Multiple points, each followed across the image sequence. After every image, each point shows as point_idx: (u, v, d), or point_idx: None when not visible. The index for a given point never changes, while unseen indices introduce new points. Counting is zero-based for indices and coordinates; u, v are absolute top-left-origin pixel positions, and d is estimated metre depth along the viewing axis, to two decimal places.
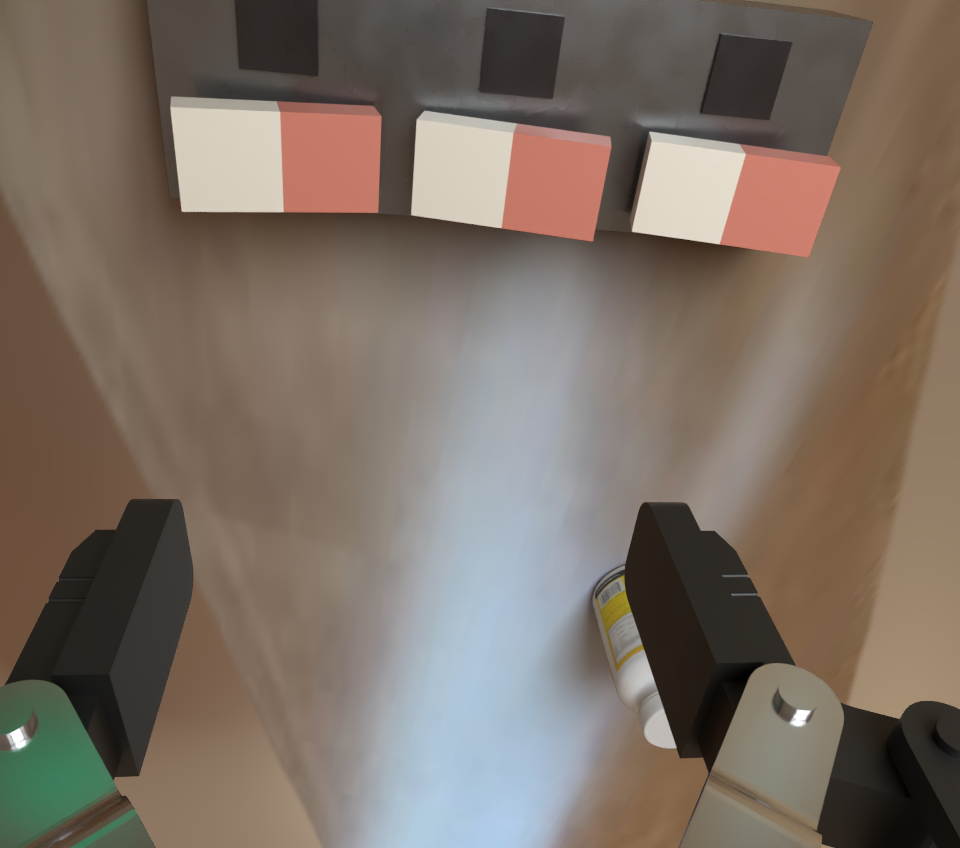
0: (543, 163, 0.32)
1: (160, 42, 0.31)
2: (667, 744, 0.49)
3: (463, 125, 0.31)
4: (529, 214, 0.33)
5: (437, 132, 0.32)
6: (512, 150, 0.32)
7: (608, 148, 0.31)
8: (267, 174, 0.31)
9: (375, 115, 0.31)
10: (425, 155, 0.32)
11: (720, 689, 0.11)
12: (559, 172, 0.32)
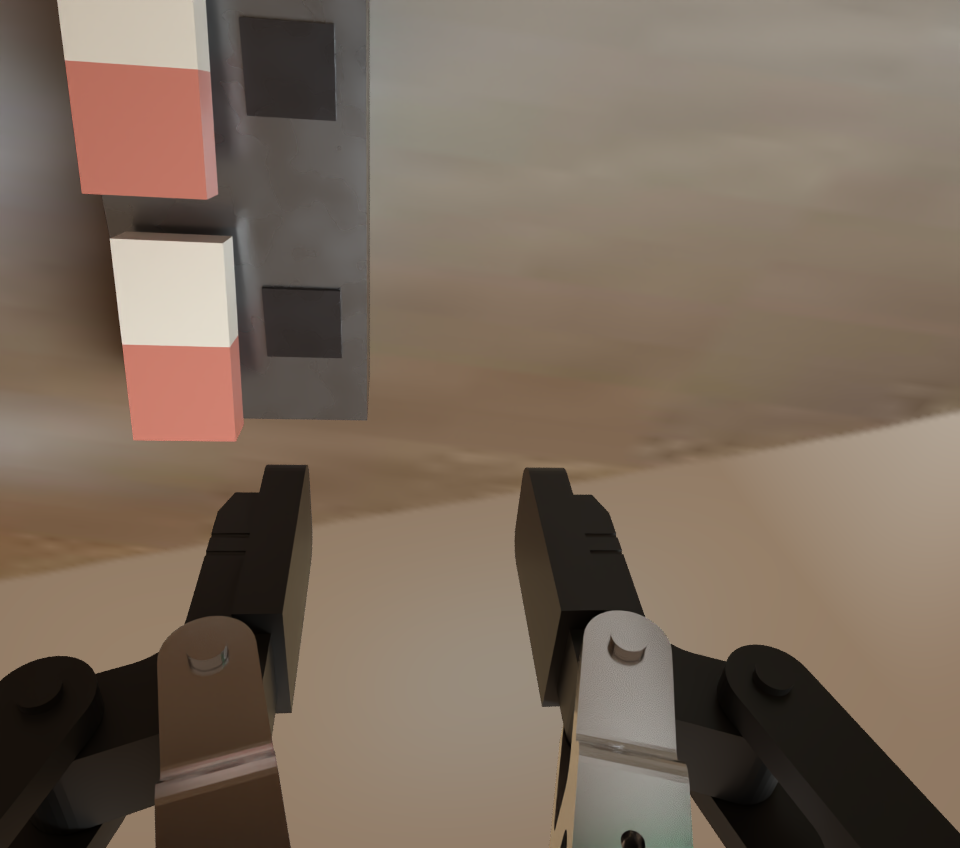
0: (167, 114, 0.25)
1: None
2: None
3: None
4: (95, 100, 0.24)
5: None
6: (175, 69, 0.24)
7: (204, 196, 0.26)
8: None
9: None
10: None
11: (569, 637, 0.11)
12: (161, 137, 0.25)
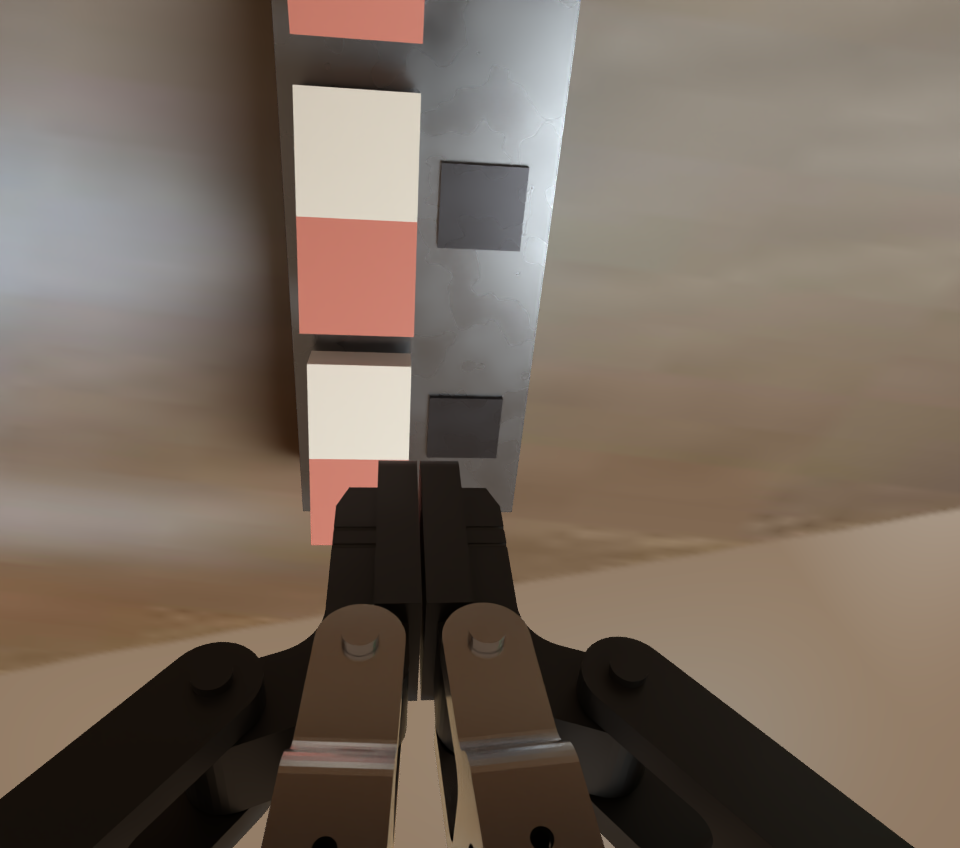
0: (385, 262, 0.26)
1: None
2: None
3: (418, 157, 0.25)
4: (320, 251, 0.26)
5: (408, 122, 0.25)
6: (396, 222, 0.26)
7: (411, 334, 0.27)
8: None
9: (422, 34, 0.24)
10: (377, 106, 0.24)
11: (438, 629, 0.11)
12: (377, 282, 0.27)
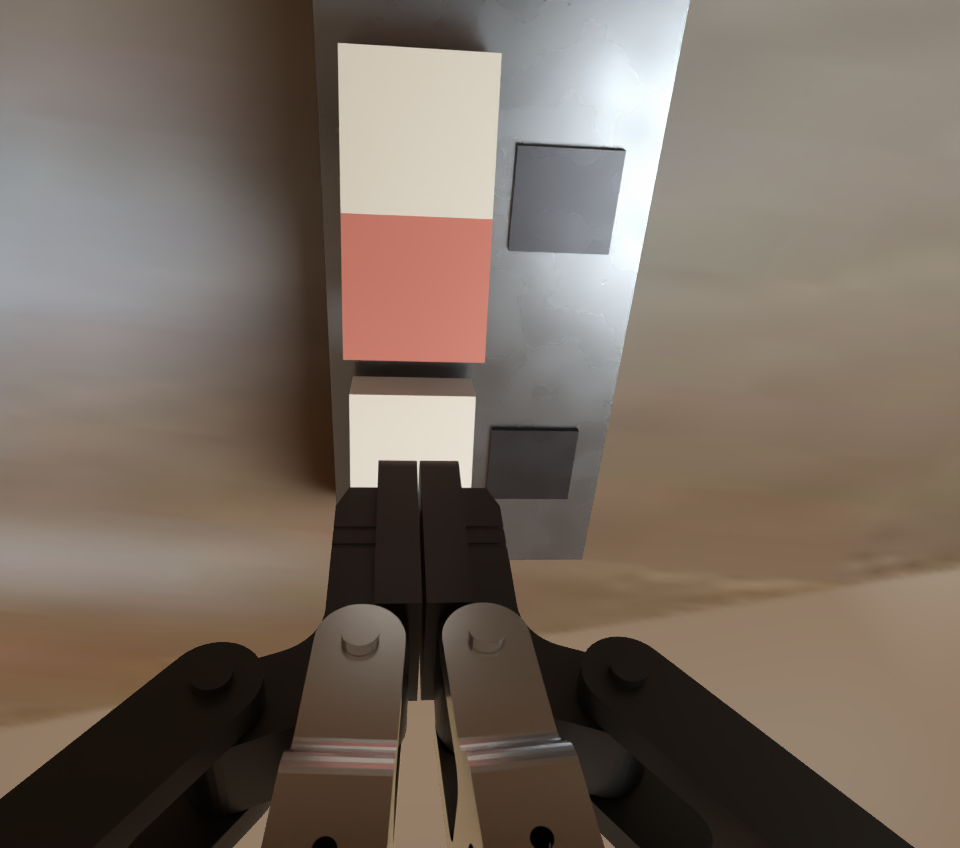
0: (452, 270, 0.21)
1: None
2: None
3: (496, 136, 0.20)
4: (370, 257, 0.21)
5: (484, 91, 0.19)
6: (466, 220, 0.20)
7: (482, 359, 0.22)
8: None
9: None
10: (445, 71, 0.19)
11: (437, 629, 0.11)
12: (441, 295, 0.21)
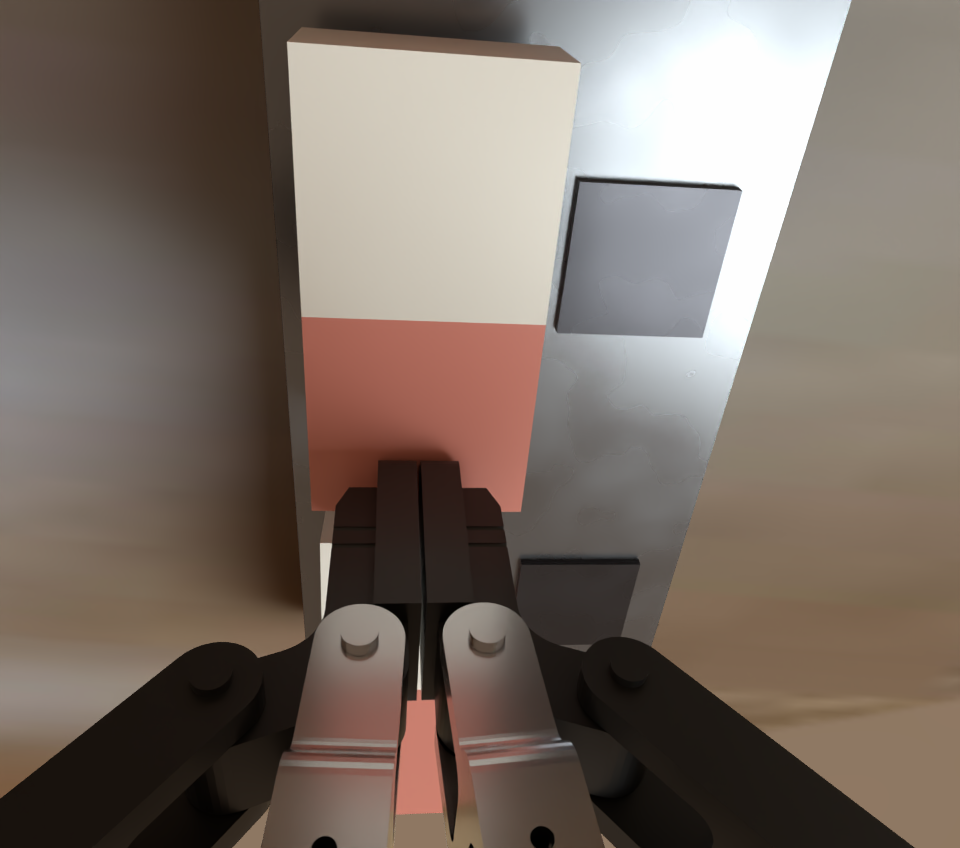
0: (478, 394, 0.13)
1: None
2: None
3: (561, 199, 0.12)
4: (351, 378, 0.13)
5: (546, 128, 0.11)
6: (504, 326, 0.13)
7: (517, 507, 0.15)
8: None
9: None
10: (480, 94, 0.11)
11: (438, 629, 0.11)
12: (460, 428, 0.14)
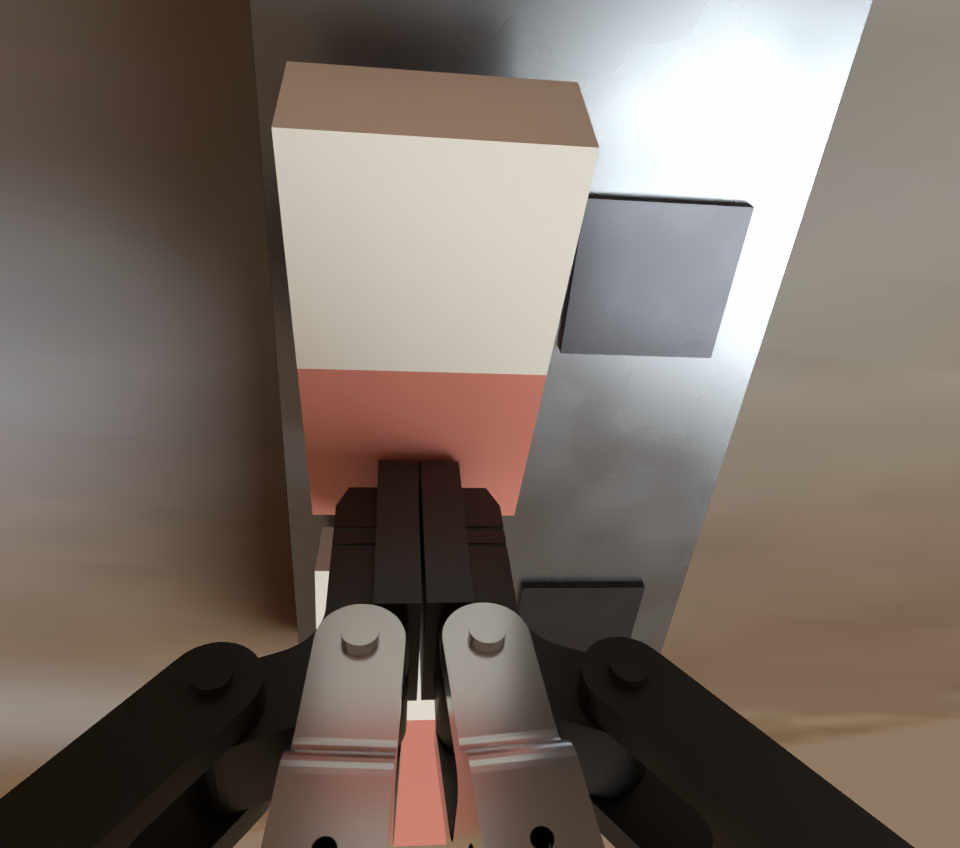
0: (475, 429, 0.13)
1: None
2: None
3: (569, 267, 0.11)
4: (349, 416, 0.13)
5: (557, 209, 0.10)
6: (504, 375, 0.13)
7: (510, 512, 0.15)
8: None
9: None
10: (486, 176, 0.10)
11: (438, 629, 0.11)
12: (458, 455, 0.14)
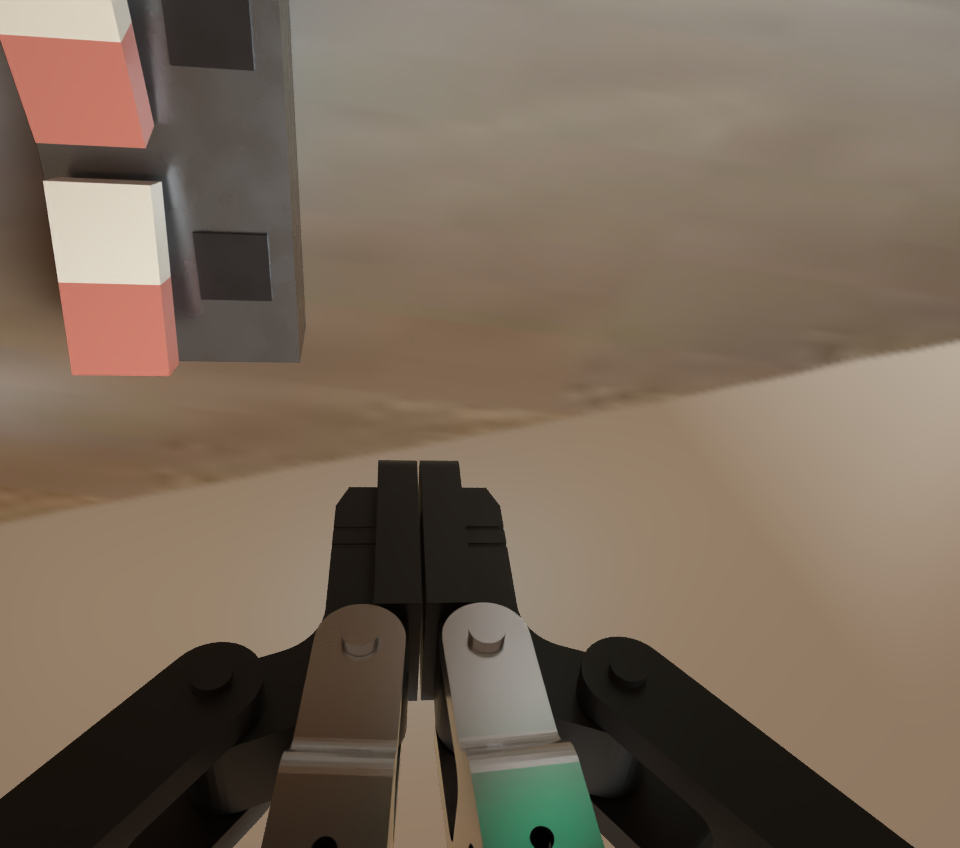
0: (100, 79, 0.28)
1: None
2: None
3: None
4: (33, 68, 0.27)
5: None
6: (100, 42, 0.27)
7: (142, 145, 0.30)
8: None
9: None
10: None
11: (437, 629, 0.11)
12: (97, 98, 0.28)
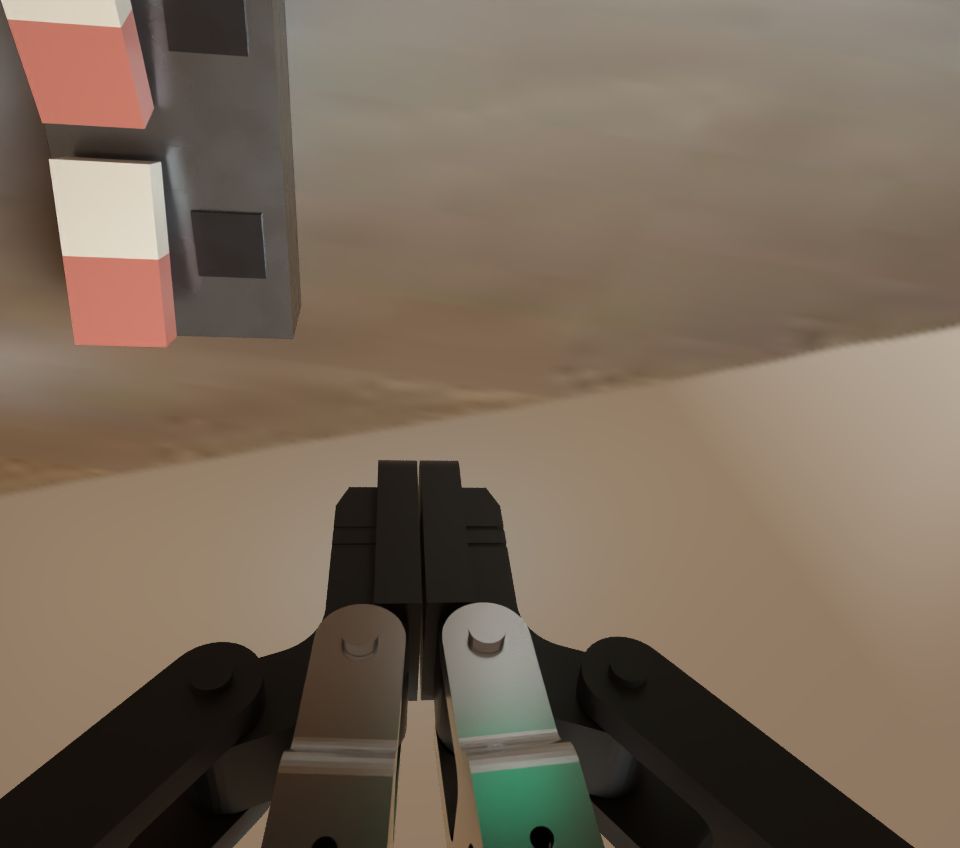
0: (101, 63, 0.30)
1: None
2: None
3: None
4: (39, 51, 0.29)
5: None
6: (102, 27, 0.29)
7: (142, 126, 0.32)
8: None
9: None
10: None
11: (437, 629, 0.11)
12: (99, 80, 0.30)
